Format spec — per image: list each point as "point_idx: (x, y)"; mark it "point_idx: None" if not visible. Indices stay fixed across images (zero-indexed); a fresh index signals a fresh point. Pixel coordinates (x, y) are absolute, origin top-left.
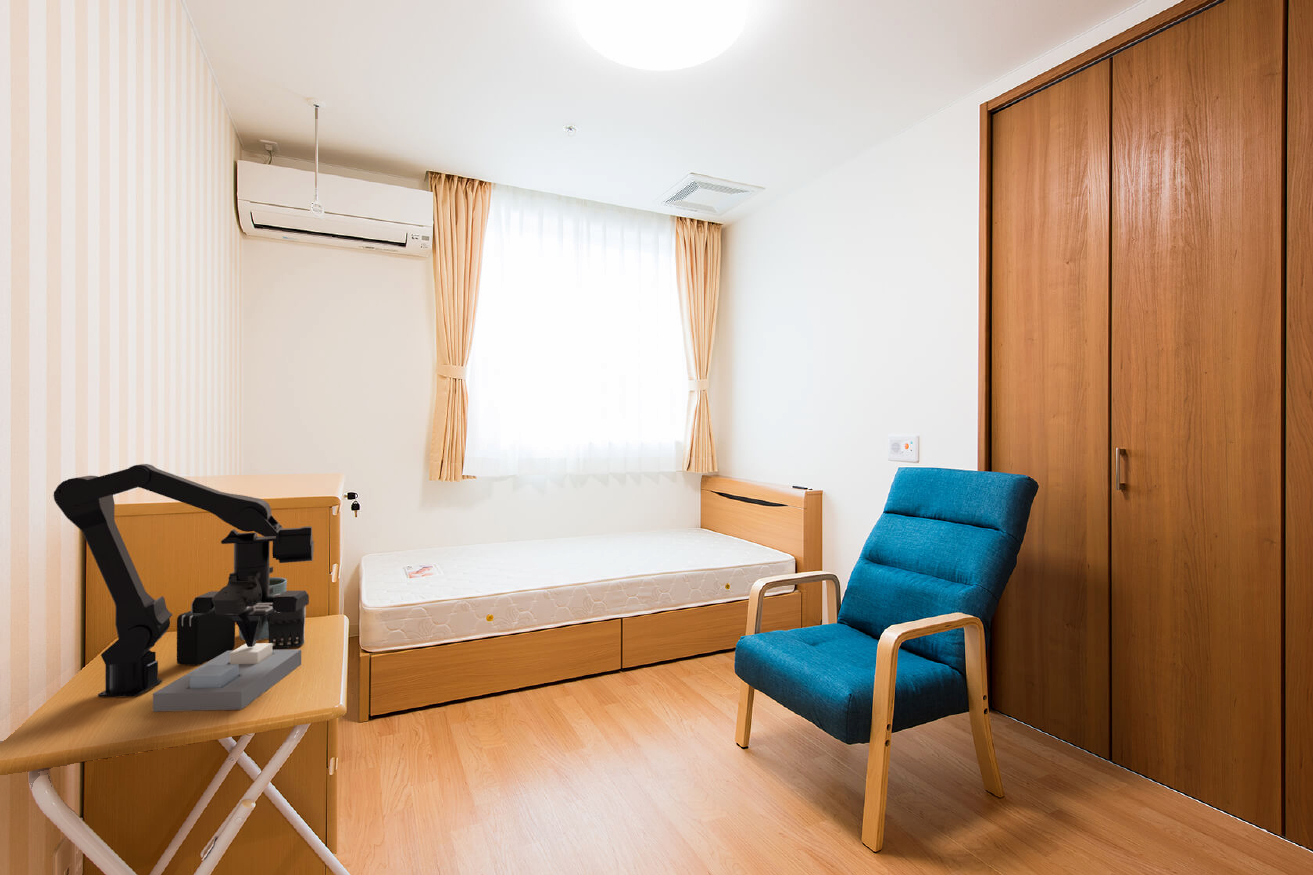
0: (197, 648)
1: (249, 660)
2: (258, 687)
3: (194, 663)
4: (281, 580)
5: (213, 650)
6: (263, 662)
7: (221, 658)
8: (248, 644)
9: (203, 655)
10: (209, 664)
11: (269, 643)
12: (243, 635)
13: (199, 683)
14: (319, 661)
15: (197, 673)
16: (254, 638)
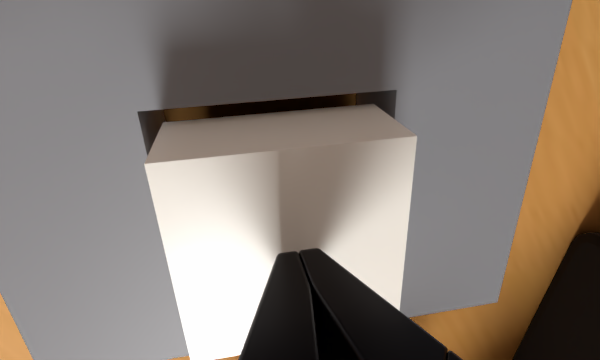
0: None
1: (230, 129)
2: None
3: (597, 233)
4: None
5: (569, 330)
6: (116, 137)
7: (479, 191)
8: (311, 258)
9: (591, 283)
10: (512, 82)
11: (211, 354)
12: (388, 312)
13: None
14: (5, 346)
15: None
16: (258, 314)
